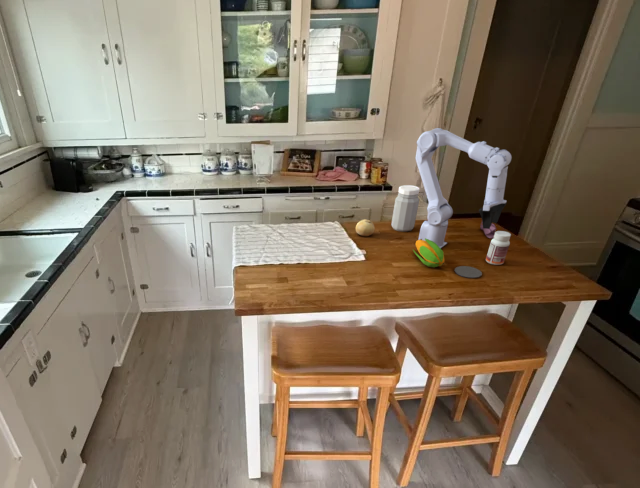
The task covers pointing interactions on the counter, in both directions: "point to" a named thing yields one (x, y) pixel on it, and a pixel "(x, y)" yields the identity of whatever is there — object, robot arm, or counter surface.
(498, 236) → the pill bottle
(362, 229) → the onion
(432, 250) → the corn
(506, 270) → the counter surface
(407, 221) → the jar
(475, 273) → the coaster
